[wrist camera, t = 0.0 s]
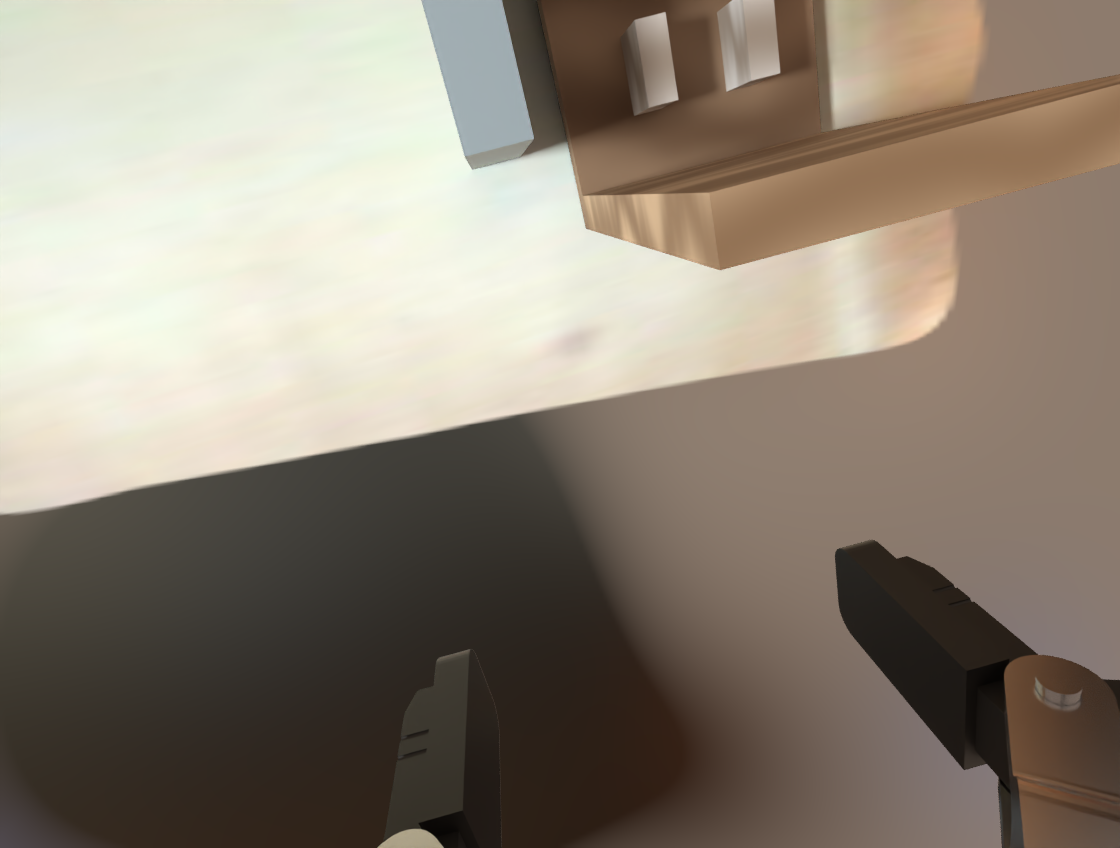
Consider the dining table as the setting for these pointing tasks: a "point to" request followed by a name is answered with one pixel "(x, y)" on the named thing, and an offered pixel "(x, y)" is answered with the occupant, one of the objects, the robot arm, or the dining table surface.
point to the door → (480, 78)
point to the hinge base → (778, 132)
